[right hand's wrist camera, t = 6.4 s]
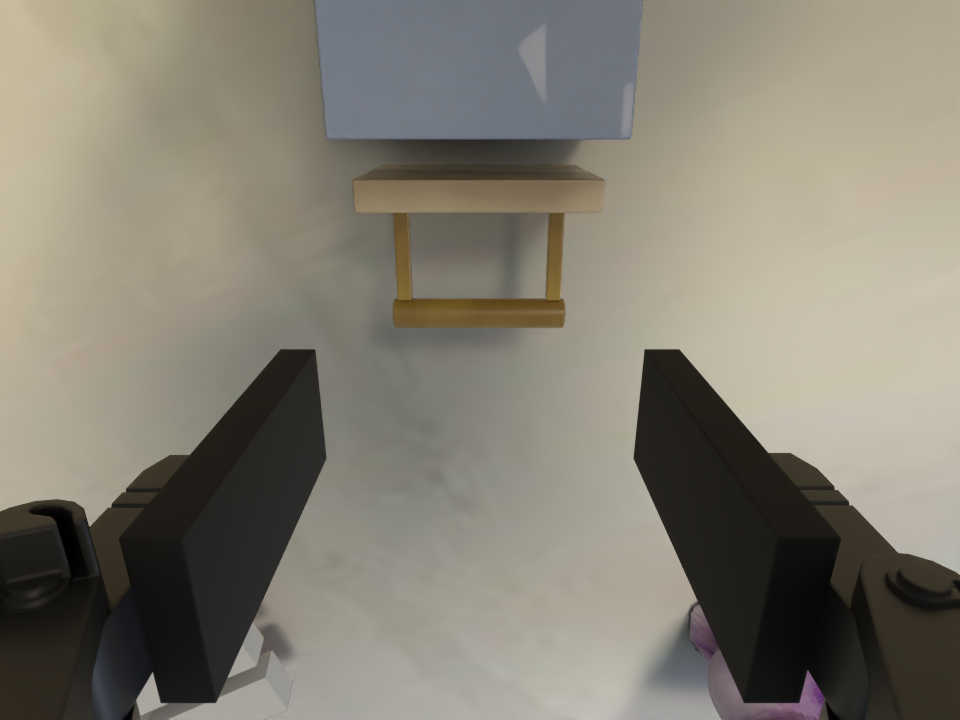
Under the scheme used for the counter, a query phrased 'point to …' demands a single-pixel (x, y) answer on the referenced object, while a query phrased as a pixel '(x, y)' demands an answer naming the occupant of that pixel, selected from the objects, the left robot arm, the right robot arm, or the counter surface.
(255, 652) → the toy
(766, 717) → the figurine
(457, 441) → the counter surface
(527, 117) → the cabinet
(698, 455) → the right robot arm
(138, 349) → the counter surface
